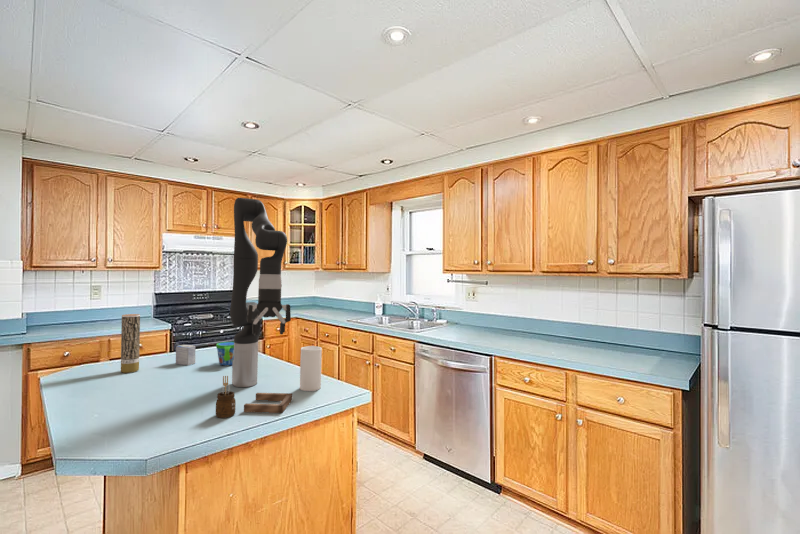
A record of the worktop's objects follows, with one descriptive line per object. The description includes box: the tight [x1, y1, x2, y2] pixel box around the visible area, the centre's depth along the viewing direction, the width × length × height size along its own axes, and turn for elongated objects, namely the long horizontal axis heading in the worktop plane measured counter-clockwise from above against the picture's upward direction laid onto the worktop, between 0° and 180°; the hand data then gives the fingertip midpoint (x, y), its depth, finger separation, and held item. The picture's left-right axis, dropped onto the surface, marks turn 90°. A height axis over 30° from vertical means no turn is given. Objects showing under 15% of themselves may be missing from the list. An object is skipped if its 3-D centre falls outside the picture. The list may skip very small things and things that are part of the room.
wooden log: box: [120, 313, 141, 374], centre depth 180 cm, size 7×7×25 cm
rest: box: [243, 392, 293, 414], centre depth 141 cm, size 13×13×2 cm
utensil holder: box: [215, 375, 236, 419], centre depth 132 cm, size 6×6×12 cm
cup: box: [299, 345, 323, 392], centre depth 163 cm, size 8×8×16 cm
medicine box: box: [175, 344, 196, 366], centre depth 195 cm, size 8×4×9 cm, turn 71°
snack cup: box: [215, 341, 234, 367], centre depth 196 cm, size 16×10×10 cm
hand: (268, 334), depth 140 cm, fingers open, 8 cm apart
